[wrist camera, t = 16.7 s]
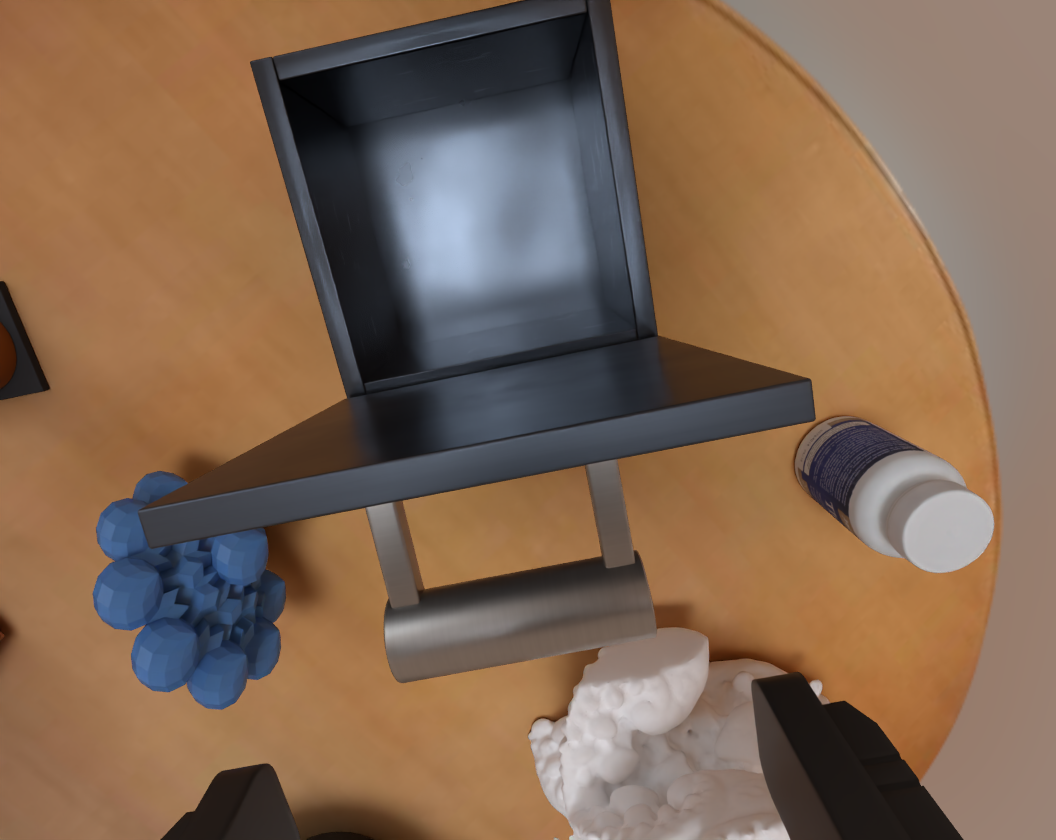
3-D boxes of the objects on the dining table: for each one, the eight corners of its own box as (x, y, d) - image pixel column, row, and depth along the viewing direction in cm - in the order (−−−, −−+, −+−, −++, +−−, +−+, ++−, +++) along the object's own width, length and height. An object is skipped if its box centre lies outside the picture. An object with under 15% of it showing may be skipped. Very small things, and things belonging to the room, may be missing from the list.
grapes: (367, 565, 38) (301, 707, 26) (280, 619, 39) (179, 779, 27) (241, 411, 35) (104, 494, 23) (151, 473, 36) (-23, 583, 24)
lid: (135, 510, 12) (224, 777, 13) (812, 378, 11) (845, 668, 12) (343, 399, 24) (379, 535, 25) (660, 335, 24) (683, 477, 25)
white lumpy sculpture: (984, 947, 35) (750, 1274, 25) (706, 746, 51) (501, 893, 41) (995, 648, 30) (719, 896, 20) (689, 536, 47) (456, 642, 37)
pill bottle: (775, 482, 37) (863, 565, 27) (819, 400, 35) (928, 458, 26) (855, 513, 37) (968, 604, 28) (901, 433, 36) (1036, 500, 26)
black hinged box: (331, 116, 31) (248, 60, 21) (580, 62, 30) (607, -20, 21) (395, 361, 34) (348, 406, 25) (620, 316, 34) (659, 343, 24)
